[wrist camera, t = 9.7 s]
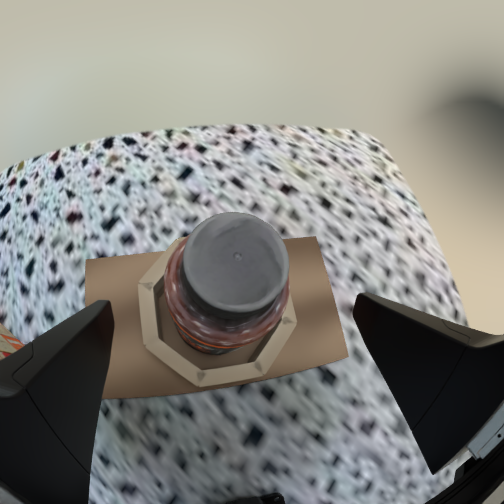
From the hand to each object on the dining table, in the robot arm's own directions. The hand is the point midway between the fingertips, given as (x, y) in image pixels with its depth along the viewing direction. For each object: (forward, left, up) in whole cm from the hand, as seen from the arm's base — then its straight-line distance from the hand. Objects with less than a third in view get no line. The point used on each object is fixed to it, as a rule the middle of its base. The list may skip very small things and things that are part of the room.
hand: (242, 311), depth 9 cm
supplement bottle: (+2, 0, -11) cm, 12 cm away
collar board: (+2, 0, -12) cm, 12 cm away
